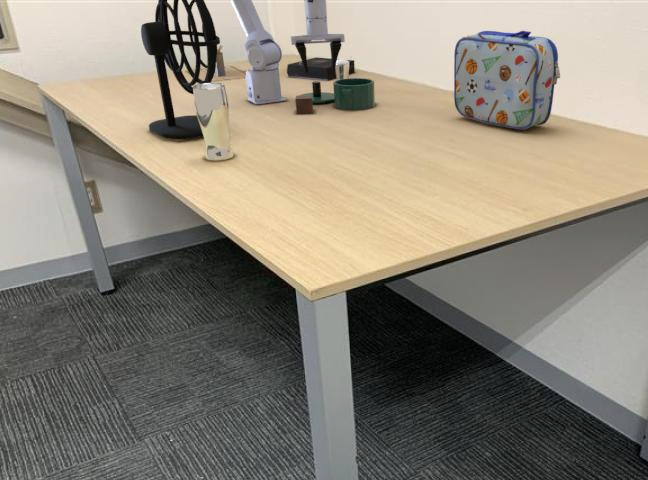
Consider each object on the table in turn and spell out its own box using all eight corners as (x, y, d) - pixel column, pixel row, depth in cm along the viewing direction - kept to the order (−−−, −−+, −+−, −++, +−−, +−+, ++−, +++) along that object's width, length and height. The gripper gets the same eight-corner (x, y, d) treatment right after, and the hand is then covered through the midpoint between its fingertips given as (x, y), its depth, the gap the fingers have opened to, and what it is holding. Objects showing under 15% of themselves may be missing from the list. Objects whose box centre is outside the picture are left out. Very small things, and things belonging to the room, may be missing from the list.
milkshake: (352, 92, 205) (350, 57, 200) (335, 92, 206) (333, 57, 201) (353, 89, 209) (352, 54, 204) (337, 89, 210) (335, 55, 205)
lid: (291, 104, 192) (289, 85, 190) (304, 95, 202) (302, 77, 200) (331, 105, 190) (330, 86, 188) (342, 96, 200) (341, 78, 198)
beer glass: (221, 150, 152) (211, 81, 144) (241, 155, 148) (232, 84, 140) (196, 157, 147) (184, 86, 140) (216, 163, 143) (205, 90, 136)
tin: (327, 111, 183) (326, 87, 180) (342, 99, 197) (341, 76, 194) (367, 112, 181) (366, 88, 178) (380, 99, 195) (379, 76, 192)
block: (296, 114, 182) (295, 98, 179) (297, 110, 185) (295, 95, 183) (312, 113, 182) (311, 98, 180) (313, 109, 186) (312, 94, 184)
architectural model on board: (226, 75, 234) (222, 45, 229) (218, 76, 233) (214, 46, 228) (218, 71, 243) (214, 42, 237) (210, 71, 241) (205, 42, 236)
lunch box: (560, 128, 163) (572, 29, 151) (536, 137, 157) (545, 34, 145) (472, 111, 180) (476, 22, 168) (447, 118, 174) (449, 26, 162)
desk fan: (246, 135, 163) (226, -28, 145) (177, 148, 155) (146, -24, 136) (202, 115, 182) (179, -31, 164) (138, 126, 173) (106, -28, 155)
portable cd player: (315, 69, 242) (314, 57, 240) (354, 72, 234) (354, 60, 232) (287, 76, 230) (286, 64, 228) (327, 80, 222) (326, 67, 220)
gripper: (291, 20, 175) (295, 75, 182) (345, 17, 178) (348, 72, 185) (288, 17, 181) (292, 70, 188) (340, 15, 184) (343, 67, 191)
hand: (319, 71), depth 187 cm, fingers open, 7 cm apart
